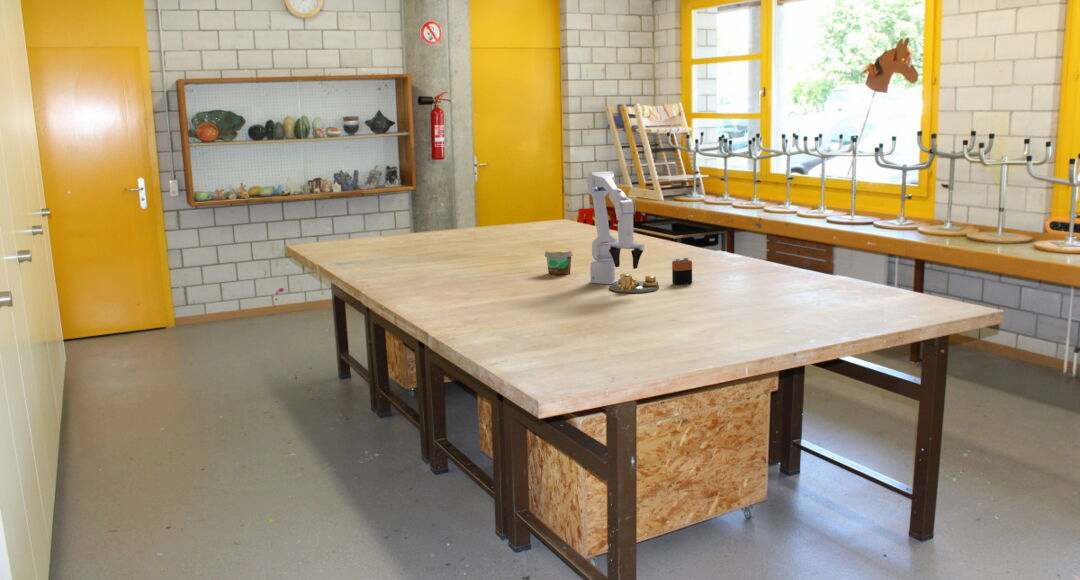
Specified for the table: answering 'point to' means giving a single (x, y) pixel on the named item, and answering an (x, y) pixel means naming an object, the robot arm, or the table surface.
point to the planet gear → (626, 283)
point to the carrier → (638, 285)
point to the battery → (682, 271)
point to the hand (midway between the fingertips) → (626, 267)
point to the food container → (559, 262)
